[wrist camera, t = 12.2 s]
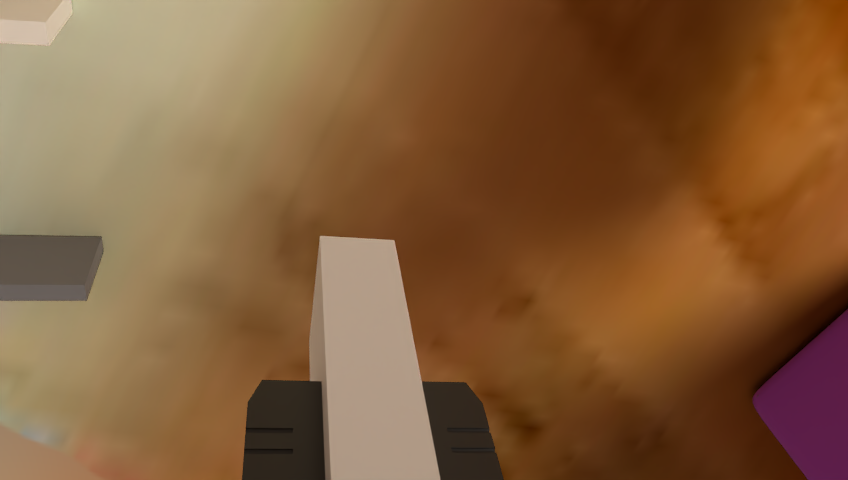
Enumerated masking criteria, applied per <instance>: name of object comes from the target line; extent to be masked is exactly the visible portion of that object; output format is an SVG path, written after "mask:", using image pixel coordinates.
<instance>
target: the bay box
mask: <svg viewBox="0 0 848 480" xmlns="http://www.w3.org/2000/svg"><path fill="white" fill-rule="evenodd" d="M72 14H73V10H72V2H71V0H0V43H10V44H27V45H44V46H49V45H50V44H51V42H52V41H53V40H54V38H55V37H56V36H57V34H58V33H59V32H60V30H61V29H62V27H63V26H64V25H65V23H66V22H67V21H68V19H69V18H70V17H71V15H72ZM102 254H103V244H102V237H93V236H26V235H0V301H87V299H88V296H89V293H90V290H91V287H92V284H93V281H94V278H95V275H96V272H97V269H98V266H99V263H100V260H101V257H102Z"/></svg>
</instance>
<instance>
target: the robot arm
mask: <svg viewBox="0 0 848 480" xmlns="http://www.w3.org/2000/svg"><path fill="white" fill-rule="evenodd" d="M309 355H310V381H281V380H262V381H261V383H260V384H259V386H258V387H257V389H256V390H255V392H254V394H253V395H252V397H251V398H250V400H249V401H248V408H247V421H246V435H245V448H244V462H243V476H242V480H504V479H503V476H502V472H501V468H500V465H499V461H498V458H497V454H496V453H495V447H494V443H493V439H492V436H491V433H489V425H488V421H487V418H486V414H485V411H484V407H483V404H482V402H481V401H480V400H479V399H478V397H477V396H476V395H475V394H474V393H473V391H472V390H471V389H470V388H469V386H468V385H467V384H466V383H464V382H422V381H421V376H420V371H419V365H418V360H417V355H416V350H415V345H414V339H413V334H412V329H411V324H410V319H409V313H408V308H407V303H406V298H405V293H404V287H403V282H402V277H401V272H400V267H399V261H398V256H397V251H396V246H395V240H383V239H366V238H349V237H332V236H320V240H319V250H318V260H317V270H316V280H315V289H314V299H313V309H312V319H311V328H310V338H309Z"/></svg>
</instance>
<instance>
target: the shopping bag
mask: <svg viewBox="0 0 848 480" xmlns="http://www.w3.org/2000/svg"><path fill="white" fill-rule="evenodd" d="M753 404H754V407H755V409H756V411H757V412H758V414H759V415H760V417H761V418H762V420H763V421H764V422H765V424H766V425H767V426H768V428H769V429H770V430H771V432H772V433H773V434H774V436H775V437H776V438H777V440H778V441H779V442H780V444H781V445H782V446H783V448H784V449H785V450H786V451H787V453H788V454H789V455H790V457H791V458H792V459H793V461H794V462H795V463H796V465H797V466H798V467H799V469H800V470H801V471H802V472H803V474H804V475H805V476H806V478H807V479H808V480H848V309H847V310H846V311H845V312H844V313H843V314H841V315H840V316H839V317H838V318H837V319H836V320H835V321H834V322H832V323H831V324H830V325H829V326H828V327H827V328H826V329H825V330H823V331H822V332H821V333H820V334H819V335H818V336H817V337H816V338H814V339H813V340H812V341H811V342H810V343H809V344H808V345H807V346H806V347H804V348H803V349H802V350H801V351H800V352H799V353H798V354H797V355H795V356H794V357H793V358H792V359H791V360H790V361H789V362H788V363H786V364H785V365H784V366H783V367H782V368H781V369H780V370H779V371H777V372H776V373H775V374H774V375H773V376H772V377H771V378H770V379H769V380H768V381H766V382H765V383H764V384H763V385H762V386H761V387H760V388H759V389H758V390H757V392H756V393H755V394H754V397H753Z"/></svg>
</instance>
